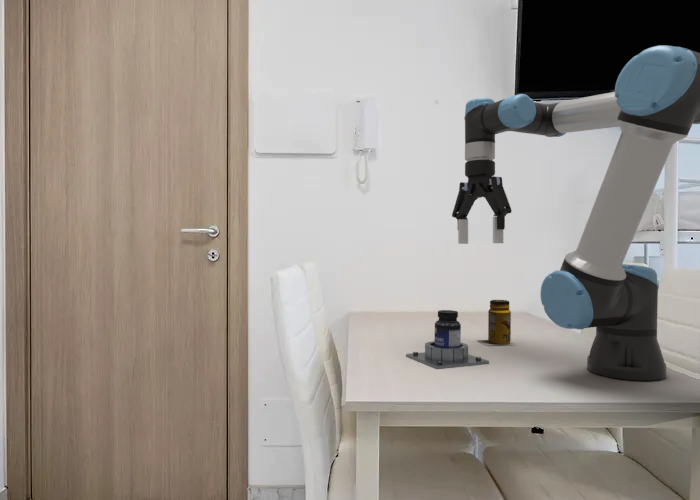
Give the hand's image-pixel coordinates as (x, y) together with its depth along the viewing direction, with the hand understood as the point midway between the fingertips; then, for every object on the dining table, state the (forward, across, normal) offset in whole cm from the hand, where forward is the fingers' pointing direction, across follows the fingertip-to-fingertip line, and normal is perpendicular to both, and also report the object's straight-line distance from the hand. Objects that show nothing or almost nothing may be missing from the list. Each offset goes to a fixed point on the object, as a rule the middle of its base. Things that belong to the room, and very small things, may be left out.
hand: (479, 243), depth 134 cm
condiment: (+28, +7, -12) cm, 31 cm away
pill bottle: (+27, -5, +14) cm, 31 cm away
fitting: (+28, -5, +14) cm, 31 cm away
